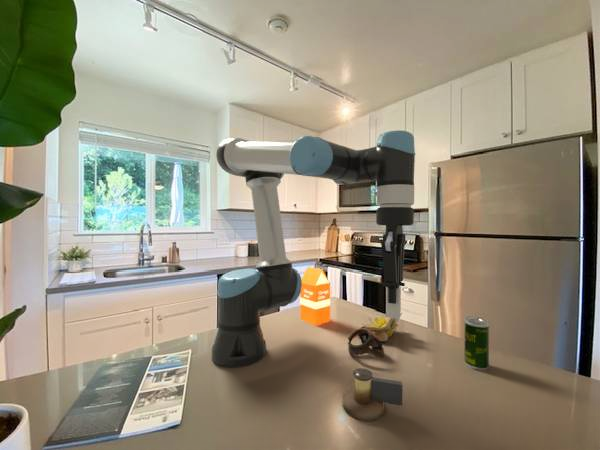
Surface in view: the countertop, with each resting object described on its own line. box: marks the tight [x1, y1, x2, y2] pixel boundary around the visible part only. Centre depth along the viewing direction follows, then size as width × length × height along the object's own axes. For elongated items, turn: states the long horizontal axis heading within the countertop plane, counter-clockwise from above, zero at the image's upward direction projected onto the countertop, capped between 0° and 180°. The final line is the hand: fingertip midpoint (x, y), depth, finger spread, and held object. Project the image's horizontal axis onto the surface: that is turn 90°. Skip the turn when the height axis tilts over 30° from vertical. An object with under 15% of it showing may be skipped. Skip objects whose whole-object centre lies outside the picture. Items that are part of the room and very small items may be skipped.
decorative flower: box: [362, 312, 403, 342], centre depth 91 cm, size 15×11×10 cm
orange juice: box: [299, 266, 331, 326], centre depth 104 cm, size 8×9×20 cm
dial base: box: [342, 387, 384, 422], centre depth 55 cm, size 8×8×2 cm
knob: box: [352, 367, 403, 406], centre depth 54 cm, size 9×4×5 cm, turn 73°
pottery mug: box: [347, 325, 385, 358], centre depth 78 cm, size 12×10×8 cm
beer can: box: [463, 315, 490, 371], centre depth 71 cm, size 5×5×12 cm
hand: (393, 316), depth 59 cm, fingers closed
